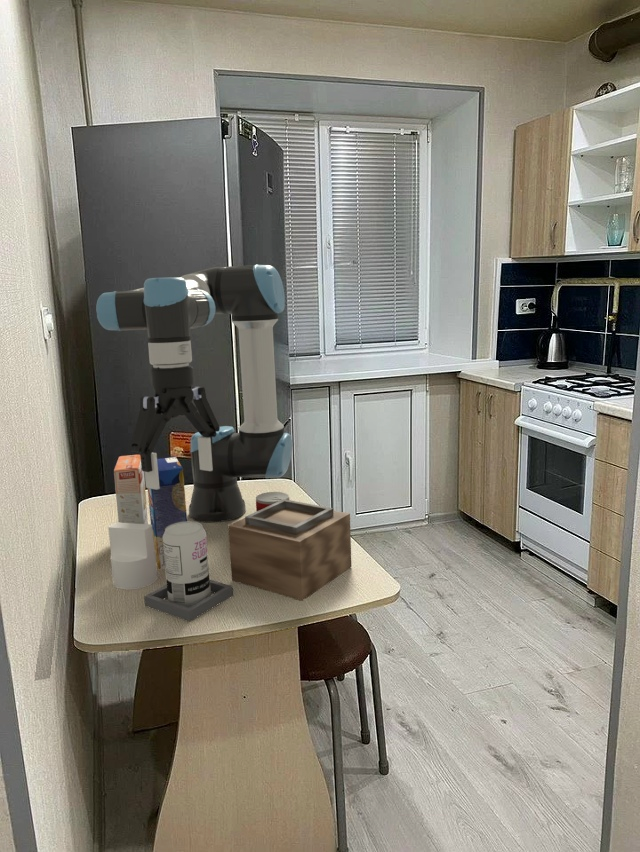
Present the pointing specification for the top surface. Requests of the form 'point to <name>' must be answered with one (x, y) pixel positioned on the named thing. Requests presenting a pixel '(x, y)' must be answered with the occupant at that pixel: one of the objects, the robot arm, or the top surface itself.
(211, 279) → the robot arm
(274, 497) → the canned food
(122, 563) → the cylinder with rectangular tab
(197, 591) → the supplement can
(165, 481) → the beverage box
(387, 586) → the top surface
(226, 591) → the base frame
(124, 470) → the cracker box
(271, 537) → the riser block
